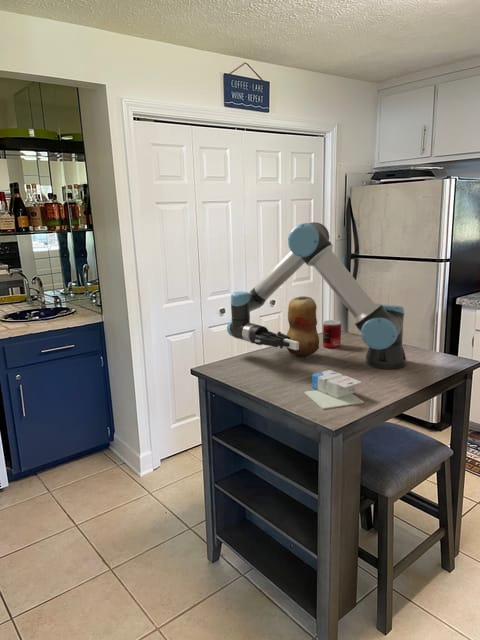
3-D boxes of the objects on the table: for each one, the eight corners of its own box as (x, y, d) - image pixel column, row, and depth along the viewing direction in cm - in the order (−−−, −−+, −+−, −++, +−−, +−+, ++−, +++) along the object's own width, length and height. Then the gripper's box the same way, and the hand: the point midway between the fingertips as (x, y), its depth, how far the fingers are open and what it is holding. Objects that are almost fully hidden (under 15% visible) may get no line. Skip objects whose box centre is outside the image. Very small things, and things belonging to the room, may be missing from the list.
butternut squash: (283, 360, 188) (282, 300, 182) (287, 351, 200) (287, 294, 195) (317, 362, 184) (318, 300, 179) (320, 352, 197) (320, 294, 191)
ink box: (311, 388, 157) (343, 402, 145) (311, 374, 156) (344, 387, 144) (330, 382, 162) (362, 395, 150) (330, 369, 160) (363, 381, 148)
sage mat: (342, 387, 158) (342, 386, 158) (364, 403, 145) (364, 402, 145) (304, 392, 154) (304, 391, 154) (322, 409, 141) (322, 408, 141)
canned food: (342, 344, 208) (342, 320, 205) (338, 349, 201) (338, 325, 198) (325, 343, 211) (325, 319, 208) (320, 348, 204) (321, 323, 201)
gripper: (268, 340, 189) (310, 352, 170) (243, 346, 181) (284, 360, 163) (268, 322, 187) (310, 332, 169) (242, 327, 180) (283, 339, 161)
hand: (297, 346), depth 166 cm, fingers closed
